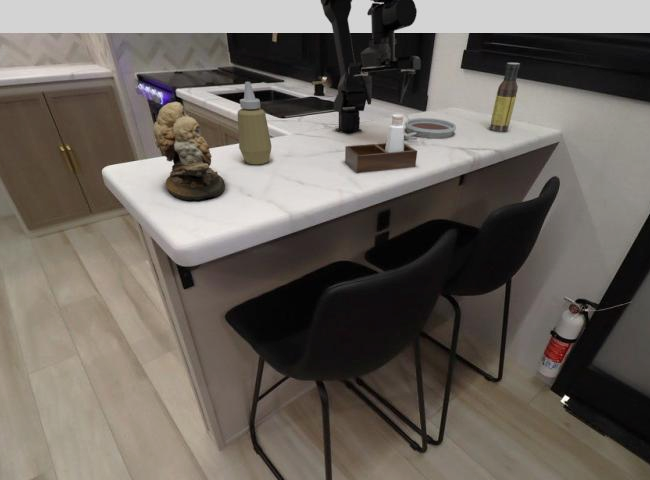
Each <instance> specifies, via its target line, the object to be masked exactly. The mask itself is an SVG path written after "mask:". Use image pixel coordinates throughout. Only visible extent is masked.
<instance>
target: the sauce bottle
mask: <svg viewBox="0 0 650 480" xmlns="http://www.w3.org/2000/svg"><path fill="white" fill-rule="evenodd" d="M520 66H521V62H520V63H519V62H507V63H506V65H505V74H504V76H503V80H502V82H501V83H500V84H499V86H498V88H497V92H496V95H495V100H494V106H493V110H492V115H491V120H490V126H489V129H490V130H491V131H493V132H497V133H504V132H507V131H508V130H509V126H510V123H511V120H512V117H513V112H514V107H515V103H516V100H517V93H518V90H519V89H518V88H519V87H518V83H517V78H518V72H519V70H520Z"/></svg>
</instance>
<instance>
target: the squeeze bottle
mask: <svg viewBox="0 0 650 480" xmlns="http://www.w3.org/2000/svg"><path fill="white" fill-rule="evenodd" d="M239 105H240V109H239V110H238V111H237V129H238V149H239V151H240V153H241V155H242V157H243V159H244V161H245V163H246V164H249V165H264V164H267V163H269V161H270V157H271V153H272V152H271V151H272V141H271V135H270V130H269V125H268V120H267V115H266V111H265V110H264V109H262V108H261V106H262V105H261V100H260V99H259V98H256V96H255V92H254V89H253V86H252V84H251V81H245V82H244V95H243V98H241V99H239Z"/></svg>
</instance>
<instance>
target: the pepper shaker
mask: <svg viewBox="0 0 650 480" xmlns="http://www.w3.org/2000/svg"><path fill="white" fill-rule="evenodd" d="M391 118H392V119H391V124H390V125H389V127H388V131H387V137H386V142H385V143H386V147H385V151H387V152H388V153H389V152H400V151H404V143H405V138H404V135H405V125H403V120H404V115H403V114H401V113H393V114H392V115H391Z"/></svg>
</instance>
